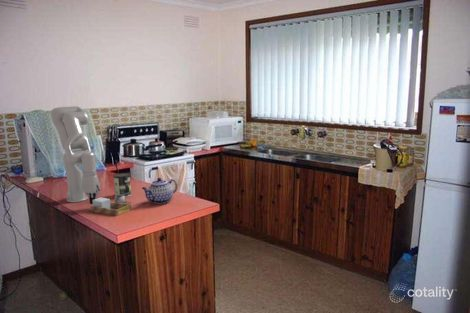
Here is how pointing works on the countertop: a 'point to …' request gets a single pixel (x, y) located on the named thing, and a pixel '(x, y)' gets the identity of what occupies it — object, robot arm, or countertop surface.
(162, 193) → the teapot
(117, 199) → the winch
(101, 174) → the countertop surface
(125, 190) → the crank
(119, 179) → the coffee can
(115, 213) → the bay
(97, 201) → the white rectangular block
